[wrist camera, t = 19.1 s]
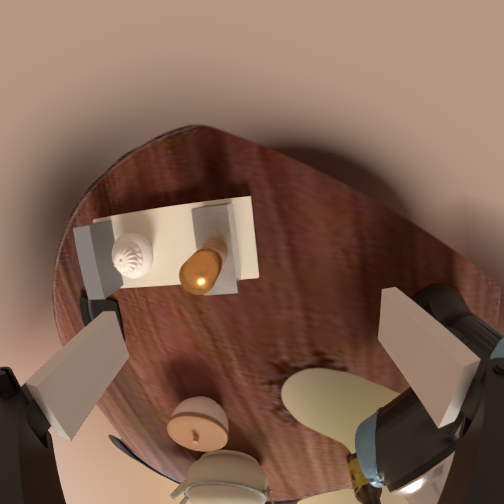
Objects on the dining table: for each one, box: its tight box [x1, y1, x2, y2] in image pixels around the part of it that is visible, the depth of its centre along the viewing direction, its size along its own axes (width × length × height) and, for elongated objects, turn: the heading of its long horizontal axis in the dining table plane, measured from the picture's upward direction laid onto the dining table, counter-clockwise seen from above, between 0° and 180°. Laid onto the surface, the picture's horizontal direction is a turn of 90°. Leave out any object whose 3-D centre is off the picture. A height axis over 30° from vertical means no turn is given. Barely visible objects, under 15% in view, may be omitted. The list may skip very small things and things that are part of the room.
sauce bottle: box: [347, 453, 382, 504], centre depth 40 cm, size 6×6×20 cm
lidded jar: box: [167, 396, 228, 452], centre depth 41 cm, size 11×11×9 cm
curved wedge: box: [80, 297, 125, 342], centre depth 42 cm, size 8×14×2 cm, turn 177°
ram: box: [179, 202, 241, 295], centre depth 29 cm, size 4×10×15 cm, turn 6°
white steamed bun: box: [112, 232, 154, 279], centre depth 34 cm, size 6×6×7 cm
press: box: [73, 196, 259, 300], centre depth 35 cm, size 24×11×8 cm, turn 96°
